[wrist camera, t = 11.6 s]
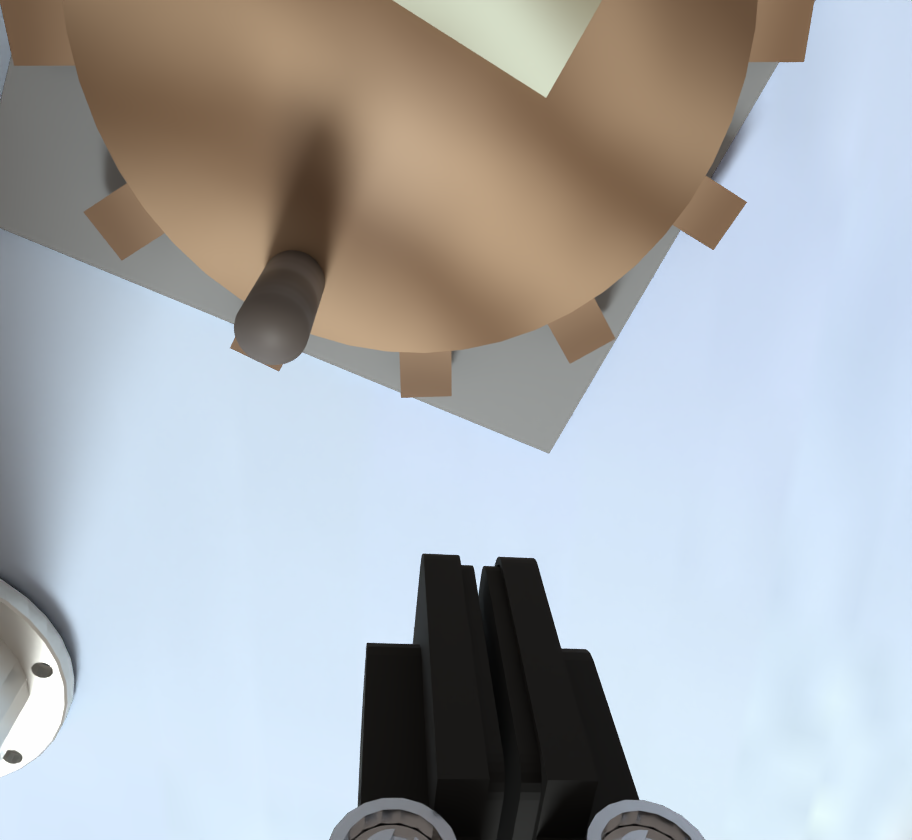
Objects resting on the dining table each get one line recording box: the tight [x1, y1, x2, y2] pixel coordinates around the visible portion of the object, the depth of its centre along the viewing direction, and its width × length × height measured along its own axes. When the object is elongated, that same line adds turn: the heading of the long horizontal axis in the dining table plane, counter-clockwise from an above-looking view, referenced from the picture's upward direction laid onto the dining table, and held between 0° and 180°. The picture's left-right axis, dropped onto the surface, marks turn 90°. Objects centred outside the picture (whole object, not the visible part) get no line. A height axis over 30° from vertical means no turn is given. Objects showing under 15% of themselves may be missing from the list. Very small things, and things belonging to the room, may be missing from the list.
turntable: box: [0, 0, 814, 398], centre depth 22 cm, size 23×23×7 cm
